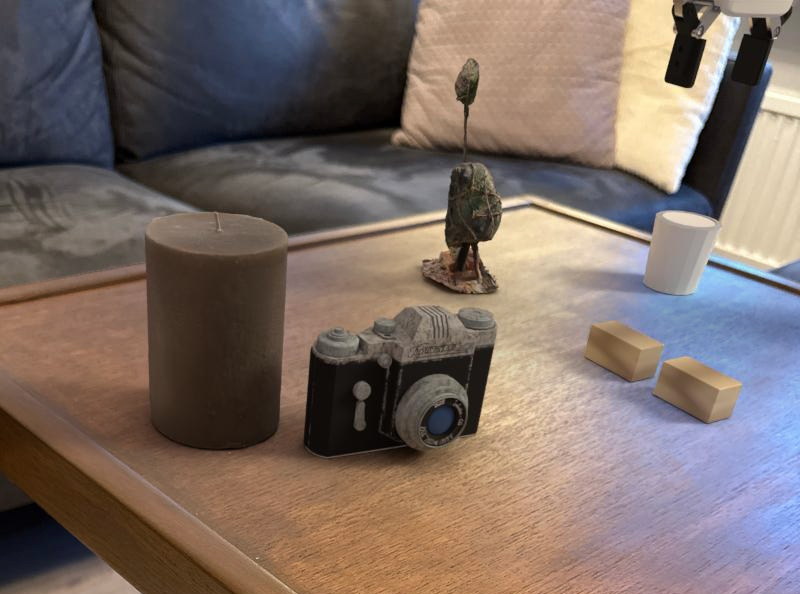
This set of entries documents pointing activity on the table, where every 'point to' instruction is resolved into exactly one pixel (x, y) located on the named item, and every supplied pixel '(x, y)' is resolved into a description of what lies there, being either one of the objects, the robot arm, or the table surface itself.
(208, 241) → the pillar candle
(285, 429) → the table surface
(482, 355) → the camera
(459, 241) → the plant with pod
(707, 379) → the bar
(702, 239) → the white cup
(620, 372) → the bar
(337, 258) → the table surface
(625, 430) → the table surface
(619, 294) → the table surface
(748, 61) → the robot arm
